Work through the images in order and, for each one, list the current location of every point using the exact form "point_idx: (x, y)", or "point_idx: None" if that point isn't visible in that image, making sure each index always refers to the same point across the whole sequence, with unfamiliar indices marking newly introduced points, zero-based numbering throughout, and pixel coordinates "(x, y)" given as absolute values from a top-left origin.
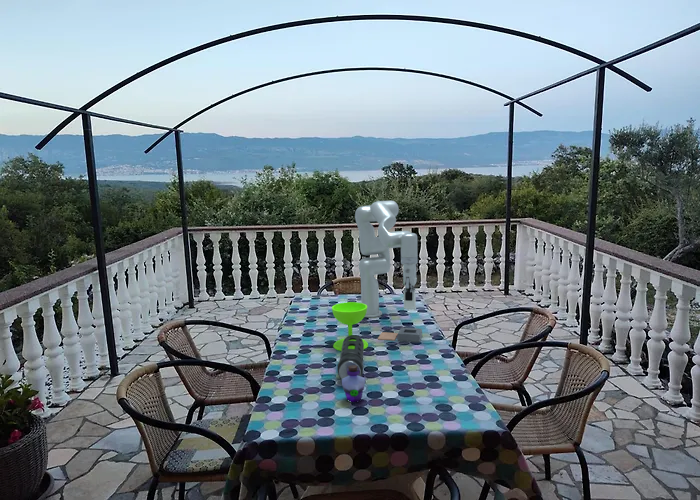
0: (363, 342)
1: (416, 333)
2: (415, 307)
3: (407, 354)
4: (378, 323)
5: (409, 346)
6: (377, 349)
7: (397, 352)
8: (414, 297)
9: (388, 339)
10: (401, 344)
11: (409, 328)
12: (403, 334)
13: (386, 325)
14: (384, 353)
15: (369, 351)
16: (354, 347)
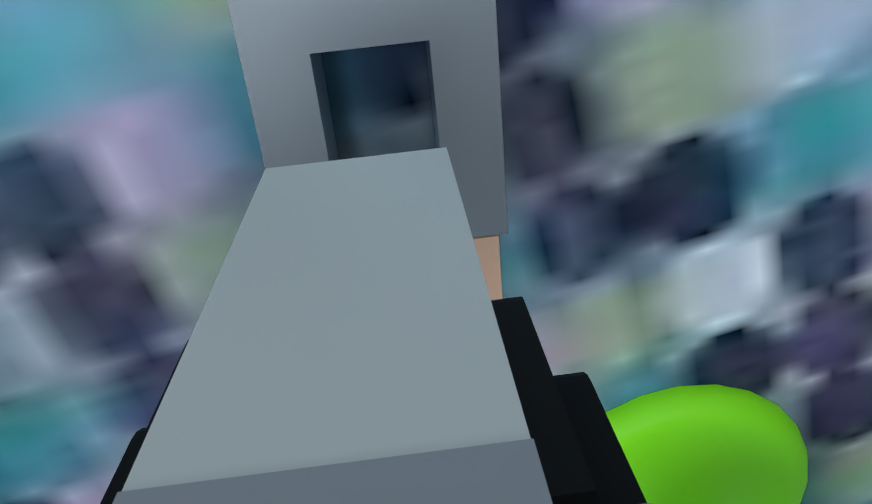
0: (657, 438)
1: (445, 21)
2: (316, 162)
3: (859, 2)
4: (75, 495)
5: (629, 42)
6: (742, 299)
7: (807, 115)
8: (475, 285)
9: (500, 289)
10: (585, 139)
11: (283, 158)
12: (504, 169)
13: (93, 422)
14: (834, 218)
15: (792, 340)
16: (779, 455)
